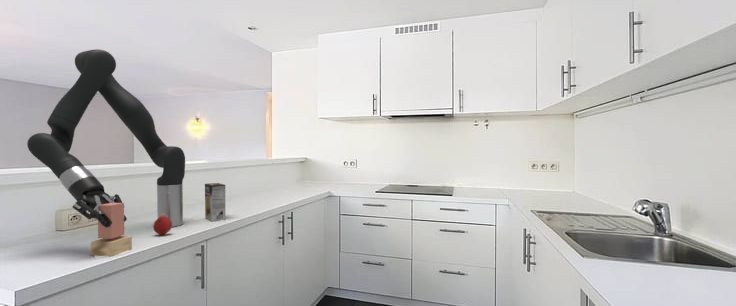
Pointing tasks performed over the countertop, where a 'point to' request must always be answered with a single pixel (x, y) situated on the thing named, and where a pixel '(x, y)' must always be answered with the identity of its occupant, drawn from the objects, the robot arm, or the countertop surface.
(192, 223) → the countertop surface
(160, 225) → the onion
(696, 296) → the countertop surface
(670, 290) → the countertop surface
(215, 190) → the coffee box
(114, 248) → the oak base block
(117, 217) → the red pillar block
